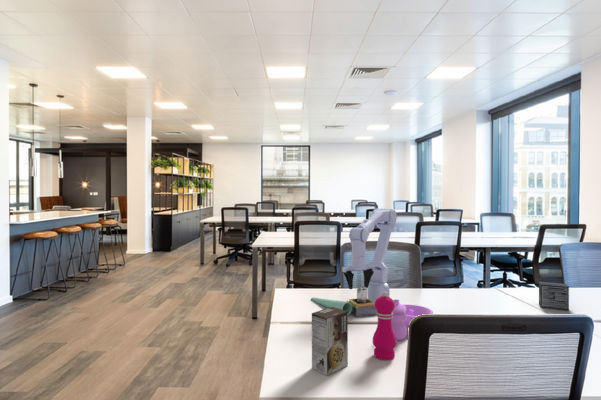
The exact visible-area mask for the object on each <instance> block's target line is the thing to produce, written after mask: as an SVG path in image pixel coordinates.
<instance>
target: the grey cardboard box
mask: <svg viewBox="0 0 601 400" xmlns="http://www.w3.org/2000/svg"><path fill="white" fill-rule="evenodd" d="M348 328H349V327H348V315H347V311H344V310H341V309H339V308H335V307H329V308H327V307H325V308H323V309H321V310H318V311H315V312H312V313H311V369H312V370H315V371H316V372H319V373H321V374H323V375H325V376H329V375H331V374H333V373H335V372H337V371H339V370H341V369H344V368H345V367H347V366H348V365H349V361H348V359H349V358H348V354H349V353H348V352H349V351H348V349H349V348H348V345H349V344H348V342H349V341H348V340H349V339H348V335H349V333H348Z"/></svg>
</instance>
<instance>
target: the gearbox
mask: <svg viewBox="0 0 601 400" xmlns="http://www.w3.org/2000/svg"><path fill="white" fill-rule="evenodd" d="M346 302H349V303H351V305H352V311H351V313H350V315H353V316H354V317H355V318H357V317H368V316H376V315H377V313H376V312H377V309H376V308H375V303H374V302H373V301H371V300H369V299H368V298H367V303H363V304H357V298H350V299H348V300H346Z"/></svg>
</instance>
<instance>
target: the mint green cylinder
mask: <svg viewBox="0 0 601 400" xmlns="http://www.w3.org/2000/svg"><path fill="white" fill-rule="evenodd" d="M310 300H311V301H312V302H315V303H316V304H319V305H321V306H323V307H325V308H329V307H335V308H339V309H341V310H344V311H347V316H349V315H351V311H352V305H351V303H349V302H347V301H344V300H337V299H329V298H327V299H326V298H321V297H320V298H319V297H311V298H310Z"/></svg>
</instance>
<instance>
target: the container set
mask: <svg viewBox="0 0 601 400" xmlns="http://www.w3.org/2000/svg"><path fill="white" fill-rule="evenodd" d="M392 300H393V301H394V304H395V308H394V310H393V311H392V313H393V318H392V319H391V326H392V330H393V333H394V335H395V337H396V341H402V340H404V339H405V338H406V336H407V335H408V326H409V323H410V321H411V320H412V319H413V318H415V317H416V316H418V315H422V314H433V315H434V312H433V310H432V309H430V308H428V307H426V306H423V305H418V304H417V305H416V304H410V303H409V304H405V303H403V304H402V303H400V302H401V301H400V299H396V298H395V299H392Z"/></svg>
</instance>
